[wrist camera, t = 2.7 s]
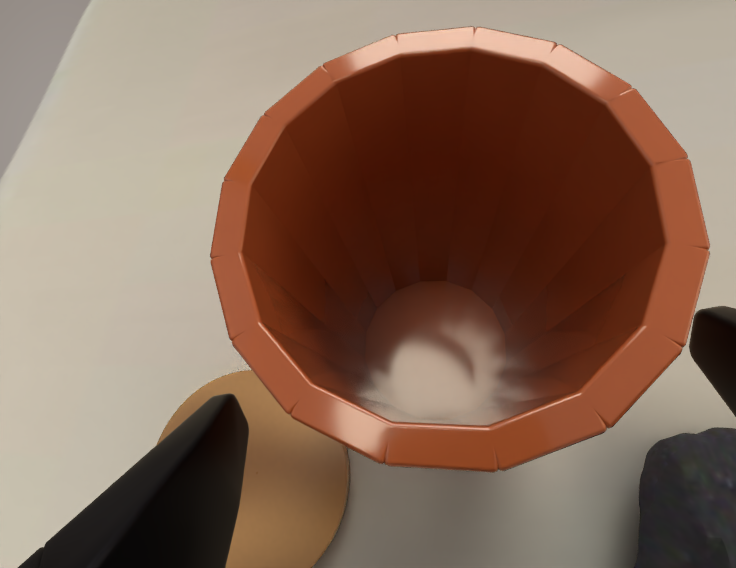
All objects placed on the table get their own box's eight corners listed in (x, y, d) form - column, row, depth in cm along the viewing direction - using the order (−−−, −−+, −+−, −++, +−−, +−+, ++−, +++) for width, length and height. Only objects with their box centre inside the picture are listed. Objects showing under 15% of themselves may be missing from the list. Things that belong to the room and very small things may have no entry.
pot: (544, 396, 16) (839, 343, 4) (389, 456, 16) (281, 557, 5) (472, 254, 18) (544, -31, 7) (337, 308, 19) (174, 123, 7)
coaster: (379, 549, 15) (377, 554, 15) (175, 627, 16) (166, 635, 15) (314, 343, 18) (310, 341, 18) (141, 411, 18) (132, 411, 18)
